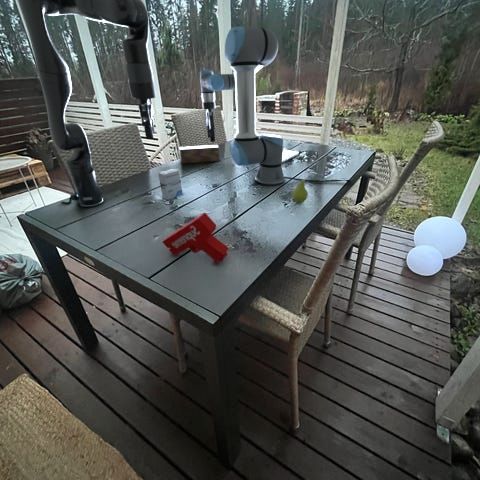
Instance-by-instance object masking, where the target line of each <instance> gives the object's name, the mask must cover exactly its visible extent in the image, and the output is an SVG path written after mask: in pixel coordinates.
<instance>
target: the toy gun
mask: <svg viewBox="0 0 480 480" xmlns="http://www.w3.org/2000/svg"><path fill="white" fill-rule="evenodd" d="M216 229H217V224H216V223H215V222H214V221H213V219H212V218H211V217H210V216H209V215H208V214H207V213H206V212H203V213H201V214H200V215H198V216H197V217H195V218H194V219H192V220H191V221H189V222H187V223H186V224H184V225H183V226H181V227H180V228H178V229H176V230H175V231H174V232H172V233H170V234H169V235H168V236H167V237H166V238H165V239H164V240H162V244H163V245H164V247H166V248H167V249H168V251H169V252H170V253H171V254H172V255H174V256H177V255H178V254H180V253H182V252H184V251H186V250H188V249H189V250H190V252H192V253H193V254H197V253H199V252H200V251H202V252H204V253H205V254H206V255H207V256H209V257H210V258H211V259H212V260H213V262H214V264H218V263H219V262H223V261H224V260H225V258H226V257H227V255H228V251H229V249H230V248H229V247H228V246H227V244H225V243H223V242H222V241H220V239H218V238H217V237H216V236H214V235H213V233H214V232H215V231H216Z"/></svg>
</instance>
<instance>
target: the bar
mask: <svg viewBox="0 0 480 480" xmlns="http://www.w3.org/2000/svg"><path fill="white" fill-rule="evenodd" d="M179 153H180V161H181V164H194V163H209V162H220V150H219V145H218V144H212V145H193V146H179Z"/></svg>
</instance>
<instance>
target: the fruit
mask: <svg viewBox="0 0 480 480" xmlns="http://www.w3.org/2000/svg"><path fill="white" fill-rule="evenodd" d="M310 177H311V175H310V174H309V175H308V176H307V177H305V178H304V179H305V180H308V179H309V178H310ZM305 180H302V181H300V182H298V184H297V185H296V186H295V187H294V188H293V190H292V191H291V198H292V200H293V201H294V202H295V203H297V204H301V203H304V202H305V201H306V200H307V198H308V196H309V195H308V190H307V189H306V184H305V183H306V181H305Z"/></svg>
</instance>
